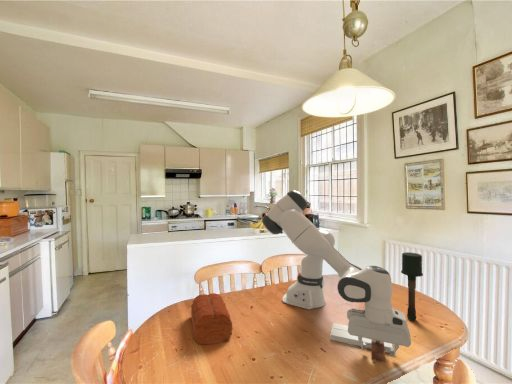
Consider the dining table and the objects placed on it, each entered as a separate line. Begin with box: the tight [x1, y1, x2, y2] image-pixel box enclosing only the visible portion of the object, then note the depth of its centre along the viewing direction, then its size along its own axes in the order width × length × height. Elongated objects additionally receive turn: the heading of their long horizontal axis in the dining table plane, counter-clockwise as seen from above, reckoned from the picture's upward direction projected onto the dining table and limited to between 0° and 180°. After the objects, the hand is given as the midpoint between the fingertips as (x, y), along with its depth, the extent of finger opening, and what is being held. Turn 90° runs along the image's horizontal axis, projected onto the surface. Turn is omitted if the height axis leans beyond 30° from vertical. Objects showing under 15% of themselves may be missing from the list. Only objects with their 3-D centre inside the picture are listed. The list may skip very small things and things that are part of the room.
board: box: [329, 322, 394, 354], centre depth 104 cm, size 22×10×2 cm, turn 66°
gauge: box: [370, 339, 385, 363], centre depth 97 cm, size 4×13×6 cm, turn 157°
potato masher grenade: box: [400, 251, 424, 322], centre depth 120 cm, size 8×9×30 cm
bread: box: [190, 292, 233, 345], centre depth 114 cm, size 16×27×11 cm, turn 17°
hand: (377, 351), depth 93 cm, fingers open, 8 cm apart
